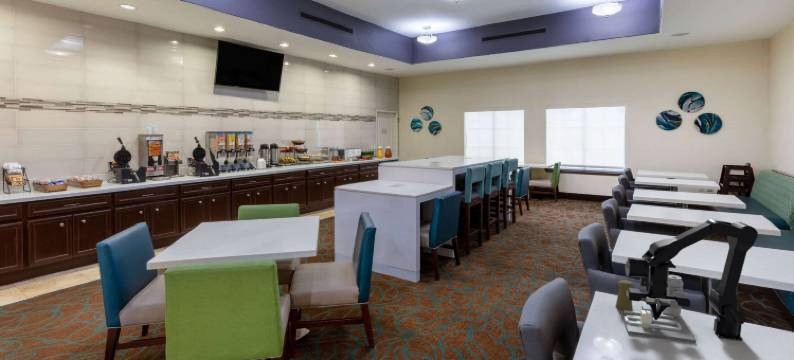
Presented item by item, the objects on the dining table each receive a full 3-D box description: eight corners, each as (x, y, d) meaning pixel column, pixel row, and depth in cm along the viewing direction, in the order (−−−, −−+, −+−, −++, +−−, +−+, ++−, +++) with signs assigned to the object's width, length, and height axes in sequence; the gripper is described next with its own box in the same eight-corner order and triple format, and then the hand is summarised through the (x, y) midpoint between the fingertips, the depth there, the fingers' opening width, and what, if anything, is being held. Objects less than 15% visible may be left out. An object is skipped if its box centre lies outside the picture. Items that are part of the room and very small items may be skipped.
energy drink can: (676, 311, 163) (678, 274, 161) (683, 318, 157) (686, 280, 155) (659, 310, 164) (661, 273, 162) (666, 317, 158) (668, 279, 156)
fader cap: (649, 321, 152) (650, 310, 151) (651, 325, 149) (652, 314, 148) (640, 320, 153) (640, 309, 152) (641, 323, 150) (642, 312, 149)
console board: (681, 321, 154) (682, 308, 153) (695, 343, 139) (697, 328, 138) (621, 314, 161) (621, 301, 160) (628, 334, 146) (629, 320, 145)
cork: (635, 310, 164) (637, 284, 162) (620, 311, 164) (621, 284, 162) (627, 304, 170) (629, 278, 168) (612, 304, 170) (614, 278, 168)
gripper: (682, 273, 152) (679, 313, 154) (625, 267, 158) (622, 306, 160) (692, 284, 141) (688, 327, 144) (630, 278, 148) (627, 319, 150)
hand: (655, 319), depth 150 cm, fingers closed
